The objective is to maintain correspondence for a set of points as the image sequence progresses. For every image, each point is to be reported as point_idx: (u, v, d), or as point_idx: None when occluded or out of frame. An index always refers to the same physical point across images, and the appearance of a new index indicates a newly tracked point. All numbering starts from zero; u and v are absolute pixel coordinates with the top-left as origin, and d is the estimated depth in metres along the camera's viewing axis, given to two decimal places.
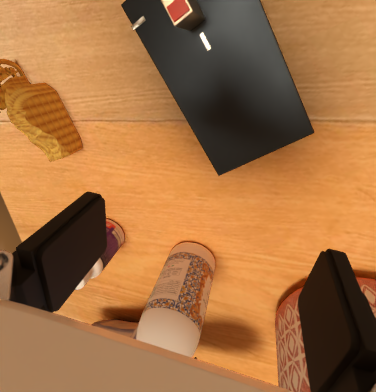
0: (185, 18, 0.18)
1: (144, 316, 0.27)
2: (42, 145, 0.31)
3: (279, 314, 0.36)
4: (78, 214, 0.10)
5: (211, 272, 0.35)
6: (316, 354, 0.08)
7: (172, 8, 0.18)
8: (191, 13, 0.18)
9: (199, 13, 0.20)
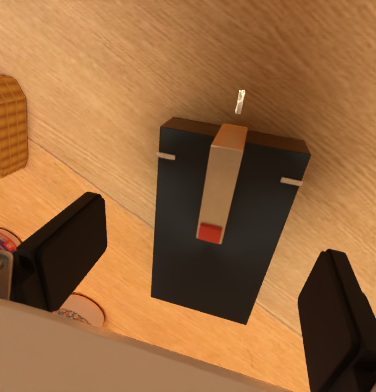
0: None
1: None
2: None
3: None
4: (78, 214, 0.10)
5: None
6: (316, 354, 0.08)
7: (204, 231, 0.15)
8: None
9: None
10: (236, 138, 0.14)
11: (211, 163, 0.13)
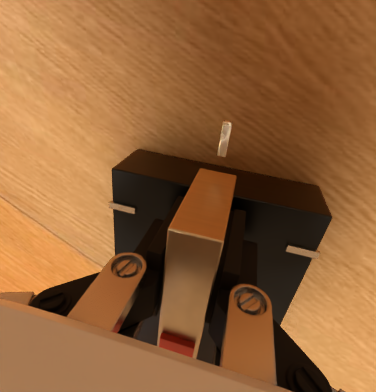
0: None
1: None
2: None
3: None
4: None
5: None
6: None
7: (167, 345, 0.09)
8: None
9: None
10: (216, 206, 0.08)
11: (171, 255, 0.08)
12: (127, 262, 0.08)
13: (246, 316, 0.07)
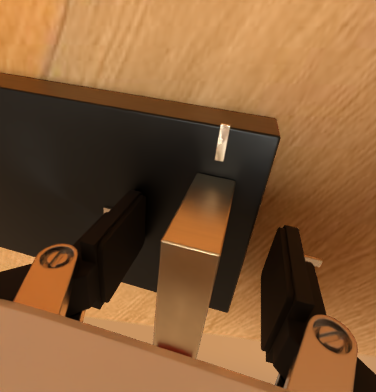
0: None
1: None
2: None
3: None
4: (127, 211, 0.10)
5: None
6: (267, 315, 0.09)
7: None
8: None
9: None
10: (213, 214, 0.08)
11: (164, 268, 0.07)
12: (56, 253, 0.08)
13: (324, 350, 0.06)
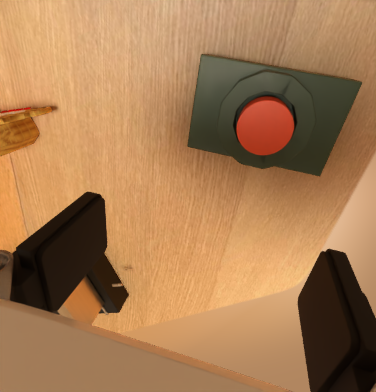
0: None
1: None
2: None
3: None
4: (78, 214, 0.10)
5: None
6: (316, 354, 0.08)
7: None
8: None
9: (96, 315, 0.32)
10: None
11: None
12: None
13: None
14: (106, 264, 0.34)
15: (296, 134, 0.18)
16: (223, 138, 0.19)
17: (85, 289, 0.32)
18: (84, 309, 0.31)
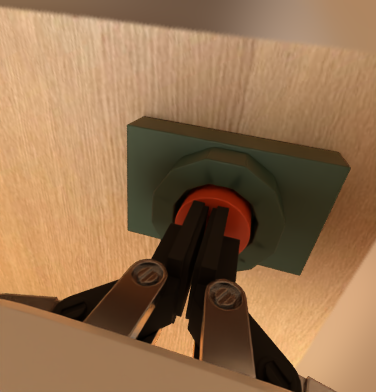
0: None
1: None
2: None
3: None
4: (198, 223, 0.10)
5: None
6: None
7: None
8: None
9: None
10: None
11: None
12: (148, 269, 0.08)
13: (223, 311, 0.07)
14: None
15: (258, 238, 0.12)
16: (162, 235, 0.14)
17: None
18: None
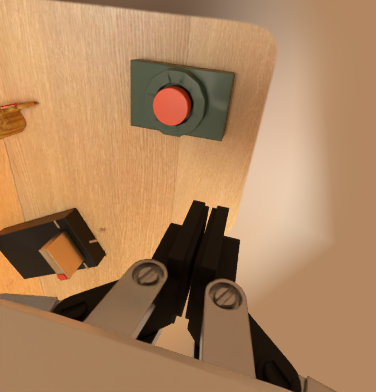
0: None
1: None
2: None
3: None
4: (199, 223, 0.10)
5: None
6: None
7: (59, 277, 0.39)
8: (68, 278, 0.39)
9: (77, 266, 0.41)
10: (51, 241, 0.38)
11: (43, 255, 0.38)
12: (148, 269, 0.08)
13: (223, 311, 0.07)
14: (85, 227, 0.43)
15: (194, 110, 0.27)
16: (149, 116, 0.28)
17: (68, 245, 0.40)
18: (67, 260, 0.40)
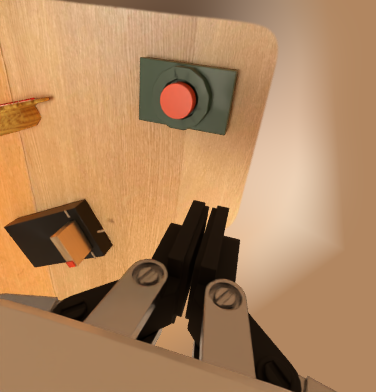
0: None
1: None
2: None
3: None
4: (198, 223, 0.10)
5: None
6: None
7: (68, 264, 0.41)
8: (77, 265, 0.41)
9: (86, 255, 0.43)
10: (62, 230, 0.40)
11: (53, 242, 0.40)
12: (148, 269, 0.08)
13: (223, 312, 0.07)
14: (93, 218, 0.45)
15: (199, 105, 0.28)
16: (156, 110, 0.30)
17: (77, 234, 0.42)
18: (76, 248, 0.42)
